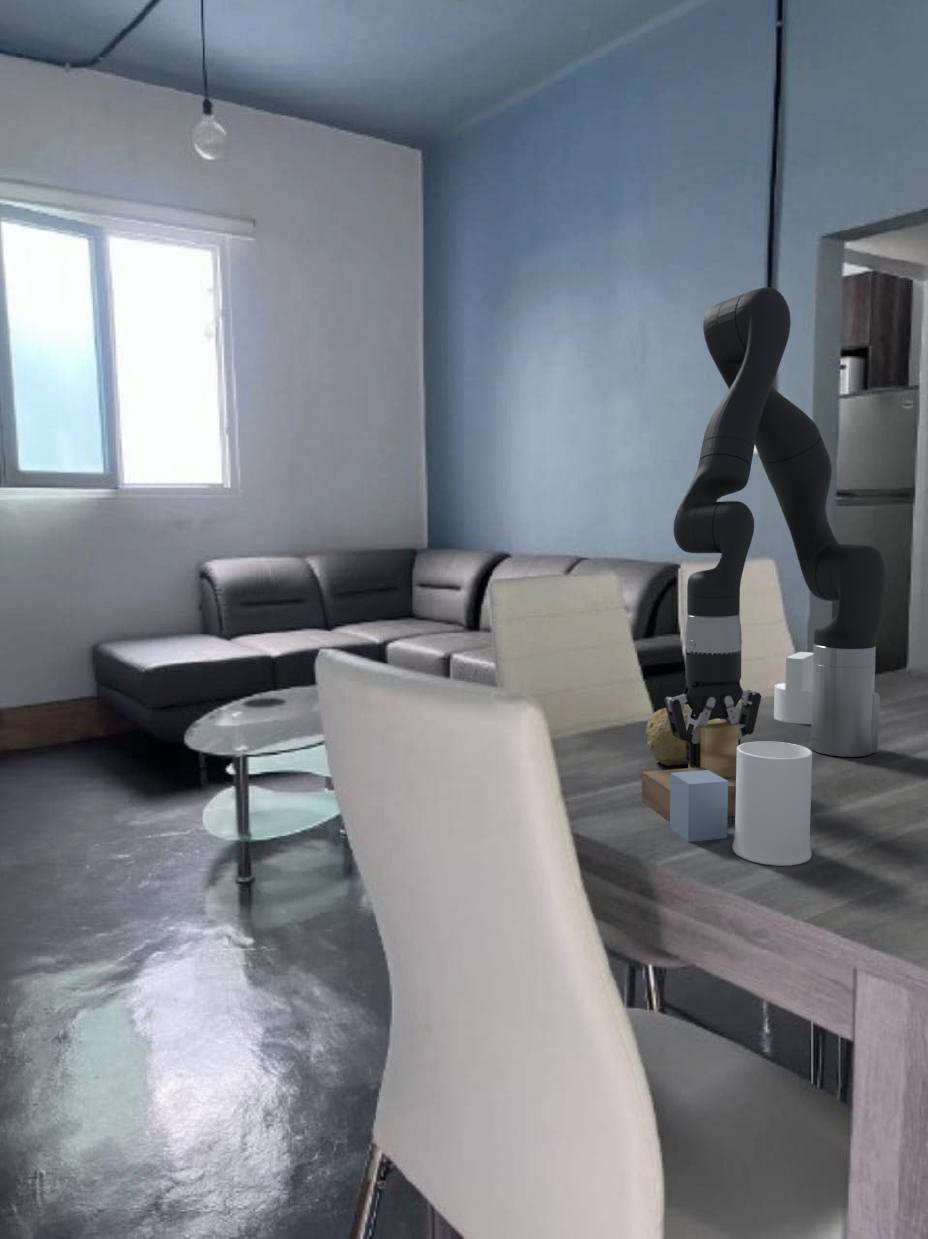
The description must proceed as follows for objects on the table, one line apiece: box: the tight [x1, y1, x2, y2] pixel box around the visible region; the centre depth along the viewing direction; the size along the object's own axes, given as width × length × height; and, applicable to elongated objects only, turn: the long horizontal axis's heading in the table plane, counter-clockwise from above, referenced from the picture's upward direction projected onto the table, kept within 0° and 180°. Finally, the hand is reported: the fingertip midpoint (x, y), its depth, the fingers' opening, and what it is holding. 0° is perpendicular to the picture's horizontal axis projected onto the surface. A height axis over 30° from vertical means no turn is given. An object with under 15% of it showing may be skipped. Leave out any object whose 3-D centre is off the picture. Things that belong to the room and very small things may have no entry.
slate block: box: [669, 770, 729, 843], centre depth 112 cm, size 5×5×7 cm
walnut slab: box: [641, 767, 736, 822], centre depth 121 cm, size 9×9×4 cm
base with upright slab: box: [773, 651, 813, 725], centre depth 173 cm, size 9×9×12 cm
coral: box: [645, 703, 699, 767], centre depth 143 cm, size 10×10×10 cm
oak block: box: [687, 718, 739, 778], centre depth 130 cm, size 5×5×7 cm
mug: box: [731, 740, 813, 867], centre depth 106 cm, size 12×8×12 cm
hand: (712, 765), depth 130 cm, fingers closed on oak block, 5 cm apart
